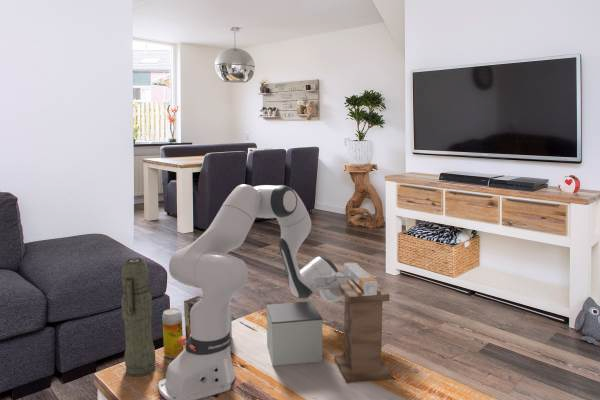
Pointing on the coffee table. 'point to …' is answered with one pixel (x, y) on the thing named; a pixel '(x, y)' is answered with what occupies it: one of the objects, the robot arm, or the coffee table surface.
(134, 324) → the thermos
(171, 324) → the beer can
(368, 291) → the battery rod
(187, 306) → the coffee box
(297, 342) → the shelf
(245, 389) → the coffee table surface
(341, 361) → the stand
